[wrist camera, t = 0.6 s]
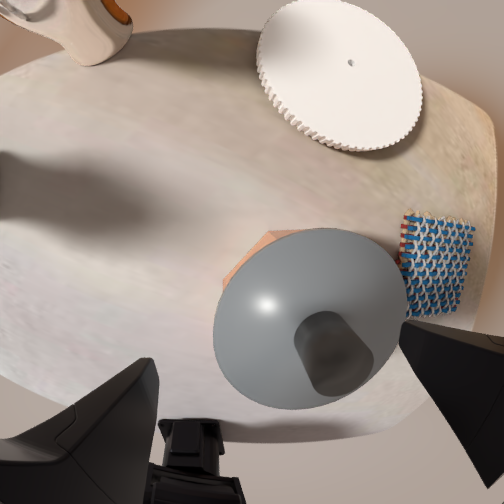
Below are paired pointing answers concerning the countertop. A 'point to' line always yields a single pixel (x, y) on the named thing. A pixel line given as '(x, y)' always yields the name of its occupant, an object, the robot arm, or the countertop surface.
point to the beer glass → (74, 25)
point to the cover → (309, 318)
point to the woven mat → (433, 263)
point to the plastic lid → (339, 75)
